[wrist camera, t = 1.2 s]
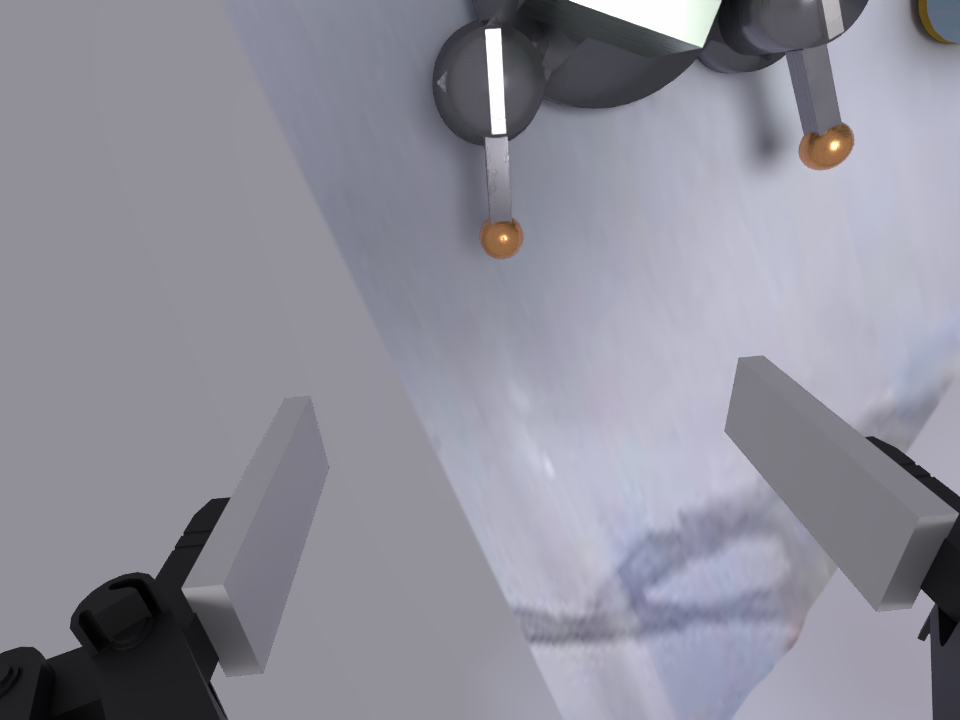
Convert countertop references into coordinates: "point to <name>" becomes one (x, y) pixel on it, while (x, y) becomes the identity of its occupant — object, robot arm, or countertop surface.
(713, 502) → the countertop surface
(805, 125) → the foot screw
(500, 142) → the foot screw
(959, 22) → the bottle
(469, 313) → the countertop surface
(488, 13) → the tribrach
